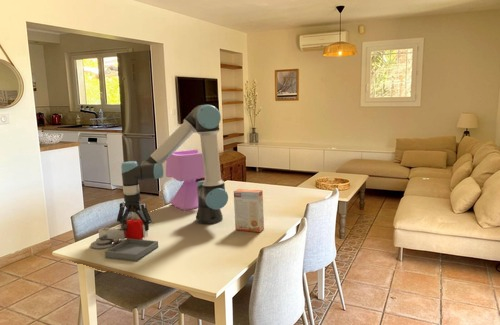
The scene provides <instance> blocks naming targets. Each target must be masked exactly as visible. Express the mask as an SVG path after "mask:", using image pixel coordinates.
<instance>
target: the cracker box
mask: <svg viewBox="0 0 500 325" xmlns="http://www.w3.org/2000/svg"><path fill="white" fill-rule="evenodd" d="M233 205H234V209H233V210H234V223H235V224H234V226H235V230H236V231H241V232H243V231H244V232H252V233H253V232H254V233H261V232H263V230H265V222H264V221H265V218H264V196H263V189H261V190H260V189H248V188H247V189H245V188H238V189H235V190H234V191H233Z"/></svg>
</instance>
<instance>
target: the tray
mask: <svg viewBox="0 0 500 325" xmlns="http://www.w3.org/2000/svg"><path fill="white" fill-rule="evenodd" d="M158 248H159V240H147V239H140V240H139V239H124V240H123V241H120V242H119V244H117V245H116V246H114V247H111V248H107V250H105V251H104V254H105V255H104V258H105V259H112V260H120V261H121V260H122V261H127V262H128V261H129V262H139V261H141V260H142V259H143V258H145V257H146V256H148V255H149V254H151V253H152V252H154V251H155V250H156V249H158Z"/></svg>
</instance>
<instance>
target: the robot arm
mask: <svg viewBox="0 0 500 325" xmlns="http://www.w3.org/2000/svg"><path fill="white" fill-rule="evenodd" d="M221 118H222V116H221V112H220V111H219V109H218V108H217V107H216V106H214V105H212V104H200V105H197V106H196V107H194V108H193V109H192V110H191V112H189V113H188V115H186V117H185V118H184V119H183V123H181V125H180V126H179V127H178V128H177V129H176V130H174V131H173V132H172V133H171V135H169V136H168V137H167V138H166V140H165V141H163V143H162V144H160V145H159V146H158V147H157V148H156V149H155V150H154V152H153V151H152V153H151V154H150V155H149V156H148V157H147V158H146V159H144V160H143V161H141V163H140V164H138V162H137V161H136V160H132V161H131V160H129V161H123V162H122V163H121V166H120V168H121V178H122V179H121V180H122V190H123V191H122V192H123V200H124V201H123V202H120V203H119V210H118V213H117V218H116V222H119V223H120V229H122V225H121V223H122V222H124V221H127V218H128V216H129V213H130V212H135V213H136V214H138V216H139V217H140V219H141V220H142V222H143V223H144V225H143V235H144V238H143V239H146V238H147V237H149V230H150V227H149V226H150V225H149V224H151V223H153V221H152V218H151V216H150V214H149V210H148V208H147V203H141V192H140V181H145V180H146V181H148V180H157V179H162V178H163V177H164V167H163V164H164V163H166V160H167V159H168V158H169V157H170V156H171V155H172V154H173V153H174V152H176V151H178V149H179V148H180V147H181V146H182V145H183V144H184V143H185V142H186V141H187V140H188V139H189V138H190V137H191V136H192V135H193V134H194V133H197V134H198V135H199V137H200V146H201V153H202V158H203V167H204V180H199V181H196V182H197V194H198V208H197V210H196V211H197V212H196V215H195V222H196V223H197V224H203V225H210V224H216V223H220V222H222V221H223V220H224V219H223V216H224V215H223V213H222V210H221V209H223V208H224V207H225V206H226V205H227V204H228V201H229V195H228V194H229V193H228V192H227V191H226V187H225V186H226V185H225V181H224V180H223V179H222V173H221V165H220V164H221V162H220V152H219V142H218V141H219V140H218V133H219V132H220V123H221ZM140 207H141V208H140ZM141 209H142V210H141ZM138 210H139V211H138Z"/></svg>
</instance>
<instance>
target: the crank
mask: <svg viewBox="0 0 500 325" xmlns="http://www.w3.org/2000/svg"><path fill="white" fill-rule="evenodd" d="M127 221H128V220H125V221H124V222H122V223H120V226H121V225H122V229H121V228H111V227H110V228H109V227H101V228H98V229H97V230H98V238H99V239H100V240H106V239H119V240H126V238H127V231H126V230H128V228H127Z"/></svg>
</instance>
